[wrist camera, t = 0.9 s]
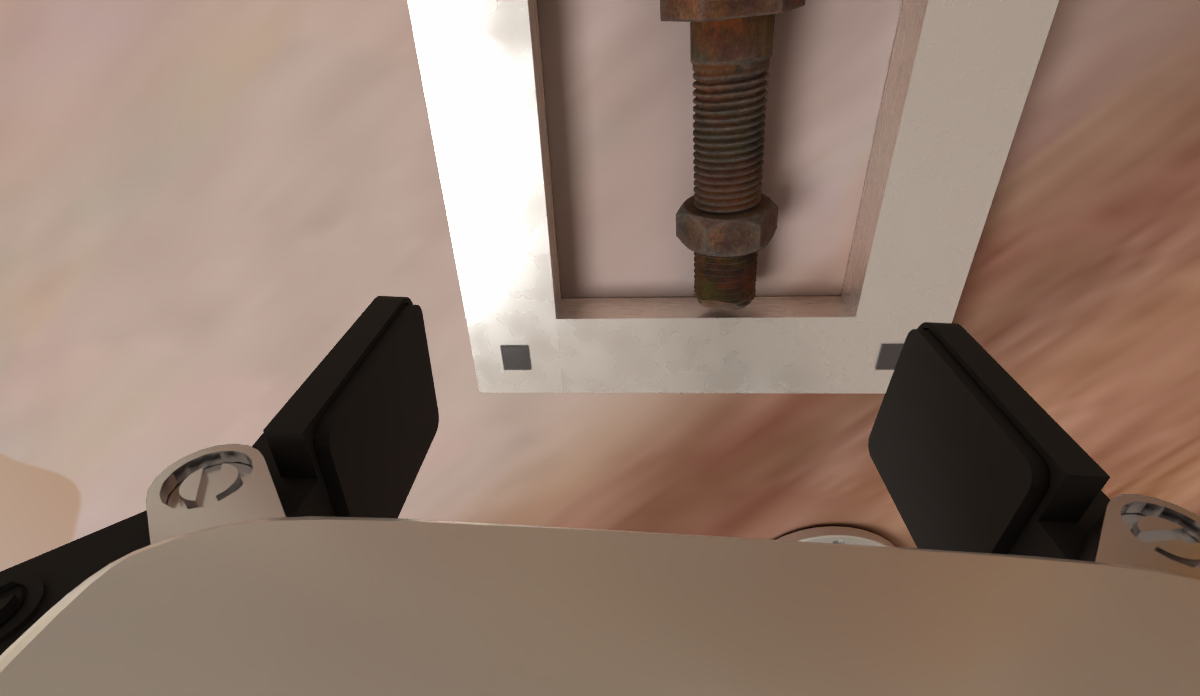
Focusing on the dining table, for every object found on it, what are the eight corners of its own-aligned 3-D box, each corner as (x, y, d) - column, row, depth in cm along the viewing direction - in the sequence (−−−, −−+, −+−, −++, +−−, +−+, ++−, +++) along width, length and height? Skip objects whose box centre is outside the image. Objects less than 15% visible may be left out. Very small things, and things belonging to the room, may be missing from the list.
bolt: (703, 270, 34) (704, -30, 25) (787, 285, 31) (819, -43, 23) (657, 316, 30) (641, -21, 22) (750, 337, 27) (771, -35, 19)
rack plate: (910, 369, 34) (928, 394, 32) (488, 369, 36) (479, 393, 34) (1089, -222, 21) (1144, -248, 18) (396, -177, 22) (370, -196, 20)
